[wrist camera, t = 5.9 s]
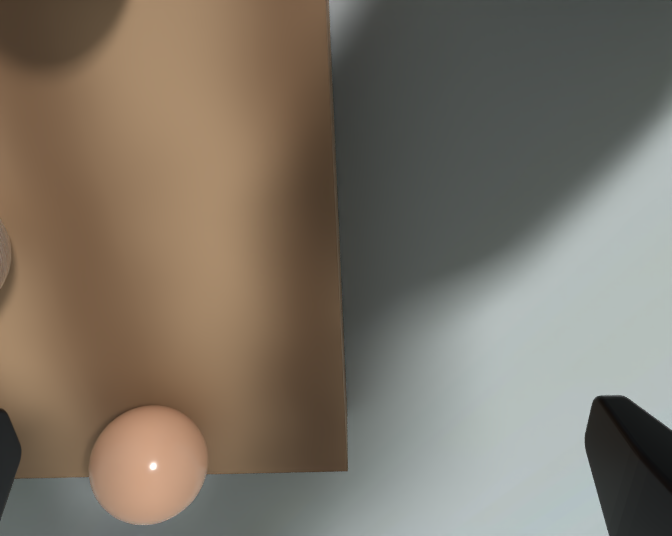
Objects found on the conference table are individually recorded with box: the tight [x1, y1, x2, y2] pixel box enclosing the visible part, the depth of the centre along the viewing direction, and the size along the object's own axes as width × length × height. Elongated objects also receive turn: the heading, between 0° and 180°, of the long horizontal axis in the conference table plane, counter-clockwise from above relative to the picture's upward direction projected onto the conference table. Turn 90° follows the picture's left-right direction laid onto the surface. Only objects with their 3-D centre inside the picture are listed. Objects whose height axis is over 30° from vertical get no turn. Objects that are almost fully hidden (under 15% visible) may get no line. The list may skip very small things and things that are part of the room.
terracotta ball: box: [89, 405, 208, 525], centre depth 19 cm, size 4×4×4 cm
